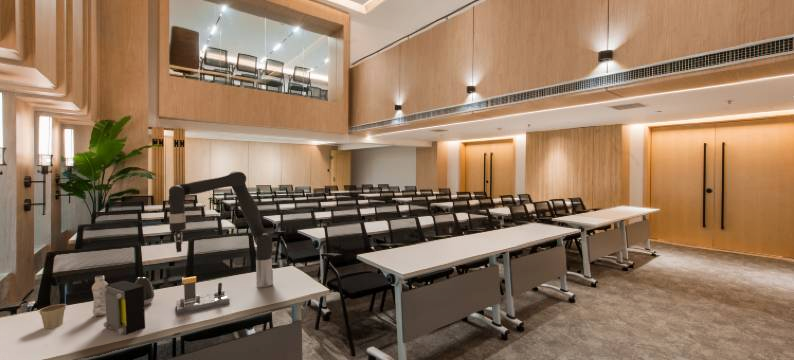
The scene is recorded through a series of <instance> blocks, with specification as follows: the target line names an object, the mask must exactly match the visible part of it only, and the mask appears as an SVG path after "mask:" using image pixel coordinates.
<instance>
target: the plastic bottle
mask: <svg viewBox="0 0 794 360" xmlns="http://www.w3.org/2000/svg"><path fill="white" fill-rule="evenodd" d="M108 284H109V283H108V282H107V281H105V275H96V276H95V277H94V283H93V284H92V286H91V291H92V295H93V308H92V314H93V315H94V317H100V316H104V315H105V316H106V298H105V294H106V293H103V292H102V290H103V289H105V286H106V285H108Z"/></svg>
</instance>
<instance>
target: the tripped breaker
mask: <svg viewBox="0 0 794 360" xmlns="http://www.w3.org/2000/svg"><path fill="white" fill-rule="evenodd" d="M196 283H197V276H189V277H183V278H182V284H183V291H184V294H183V295H184V296H183V297H184V299H185V302H190V301H195V300H196V295H197V293H196Z"/></svg>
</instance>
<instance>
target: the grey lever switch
mask: <svg viewBox="0 0 794 360" xmlns="http://www.w3.org/2000/svg"><path fill="white" fill-rule="evenodd" d="M222 289H223V283H222V282H218V283H217V292H213V293H208V294H204V295H203V294H202V295H200V294H199V293H196V300H195V301H190V302H185V298H184V296H181V297H179V299H178V300H176V303H175V304H176V312H177V316H180V315H184V314H185V315H186V314H191V313H194V312H199V311H203V310H207V309H213V308H217V307H221V306H227V305H229V304H230V302H231V301H230V300H231V299H230V297H229V295H228V293H227V291H226V290H222Z"/></svg>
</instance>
